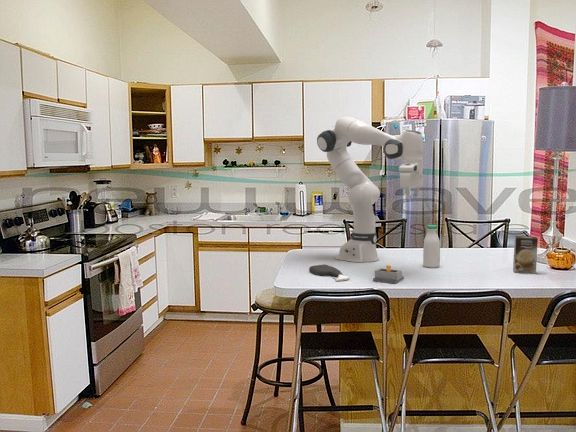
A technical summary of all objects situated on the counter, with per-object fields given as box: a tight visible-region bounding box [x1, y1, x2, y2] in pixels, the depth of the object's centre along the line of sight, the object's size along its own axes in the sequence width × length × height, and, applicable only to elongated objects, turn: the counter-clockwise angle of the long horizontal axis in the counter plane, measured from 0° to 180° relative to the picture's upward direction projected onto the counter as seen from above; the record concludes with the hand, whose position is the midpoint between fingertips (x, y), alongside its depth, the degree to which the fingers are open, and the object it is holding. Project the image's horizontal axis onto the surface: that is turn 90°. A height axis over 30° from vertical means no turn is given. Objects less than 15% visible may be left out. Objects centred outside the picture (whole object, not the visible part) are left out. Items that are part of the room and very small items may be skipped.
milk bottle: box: [422, 224, 441, 269], centre depth 247 cm, size 8×8×20 cm
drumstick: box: [308, 264, 351, 282], centre depth 232 cm, size 3×11×24 cm
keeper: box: [372, 264, 405, 285], centre depth 221 cm, size 10×10×7 cm
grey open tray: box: [374, 267, 403, 280], centre depth 221 cm, size 10×6×3 cm, turn 57°
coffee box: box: [512, 235, 539, 275], centre depth 232 cm, size 9×6×16 cm
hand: (412, 198), depth 229 cm, fingers open, 8 cm apart
